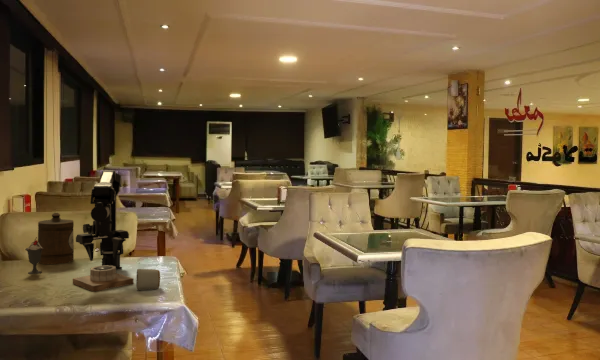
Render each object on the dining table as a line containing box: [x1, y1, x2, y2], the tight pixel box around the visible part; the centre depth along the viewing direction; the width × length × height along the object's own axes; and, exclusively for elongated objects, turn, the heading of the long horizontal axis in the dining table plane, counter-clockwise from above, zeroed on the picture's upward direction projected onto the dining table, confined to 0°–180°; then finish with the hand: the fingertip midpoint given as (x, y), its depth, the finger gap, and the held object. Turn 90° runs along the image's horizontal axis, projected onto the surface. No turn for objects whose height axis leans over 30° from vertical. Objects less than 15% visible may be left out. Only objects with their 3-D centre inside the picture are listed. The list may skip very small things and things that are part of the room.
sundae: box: [25, 236, 44, 275], centre depth 213 cm, size 7×7×15 cm
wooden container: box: [37, 212, 75, 265], centre depth 236 cm, size 15×15×22 cm
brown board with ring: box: [72, 265, 134, 293], centre depth 199 cm, size 16×16×6 cm
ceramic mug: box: [135, 268, 161, 291], centre depth 194 cm, size 11×8×8 cm
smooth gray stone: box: [96, 267, 110, 270], centre depth 199 cm, size 5×5×4 cm
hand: (103, 259), depth 198 cm, fingers open, 9 cm apart
